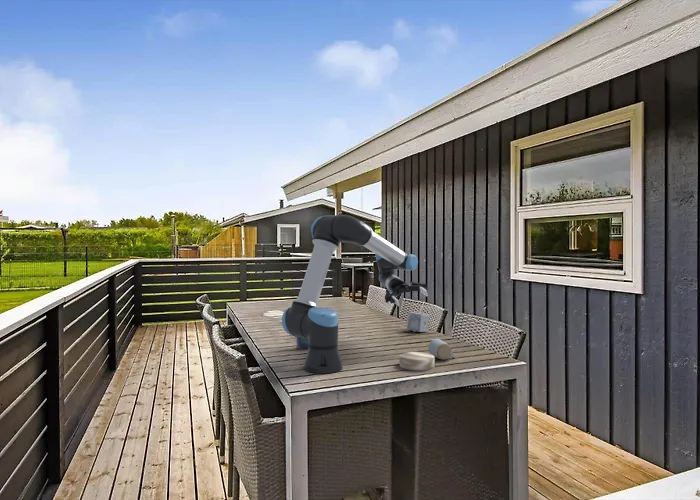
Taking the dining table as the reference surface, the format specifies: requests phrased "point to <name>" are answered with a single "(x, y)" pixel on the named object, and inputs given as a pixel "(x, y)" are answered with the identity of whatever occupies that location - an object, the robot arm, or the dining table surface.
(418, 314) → the incense holder
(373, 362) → the dining table surface
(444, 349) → the ceramic mug
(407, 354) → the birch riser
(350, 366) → the dining table surface
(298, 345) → the flask
